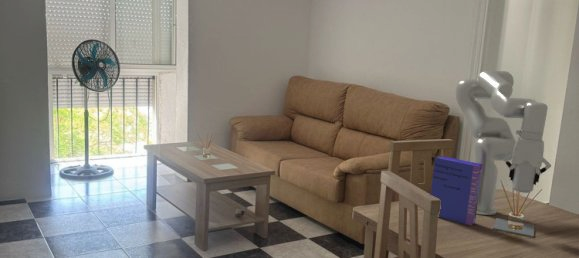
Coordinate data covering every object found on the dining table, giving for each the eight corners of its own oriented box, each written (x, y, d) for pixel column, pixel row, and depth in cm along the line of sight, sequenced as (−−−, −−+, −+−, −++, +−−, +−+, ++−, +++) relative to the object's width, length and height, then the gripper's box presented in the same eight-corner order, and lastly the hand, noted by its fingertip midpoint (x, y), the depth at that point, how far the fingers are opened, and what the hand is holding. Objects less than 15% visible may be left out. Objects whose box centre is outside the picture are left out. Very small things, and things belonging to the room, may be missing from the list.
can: (531, 189, 195) (537, 158, 192) (533, 194, 188) (539, 163, 185) (510, 185, 197) (515, 155, 195) (511, 191, 190) (516, 160, 188)
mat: (493, 229, 196) (493, 227, 196) (496, 219, 208) (496, 217, 208) (533, 237, 190) (533, 236, 190) (534, 226, 202) (534, 225, 202)
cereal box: (475, 223, 202) (482, 163, 198) (470, 226, 198) (478, 165, 194) (433, 211, 213) (439, 155, 209) (428, 214, 209) (435, 156, 205)
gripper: (504, 133, 189) (497, 179, 192) (557, 141, 181) (548, 189, 185) (506, 130, 195) (499, 174, 199) (557, 138, 188) (549, 184, 191)
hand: (523, 181), depth 192 cm, fingers closed on can, 7 cm apart
